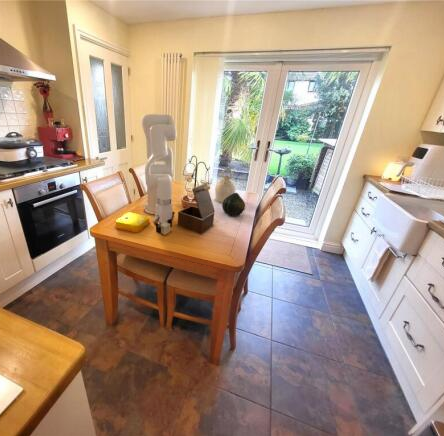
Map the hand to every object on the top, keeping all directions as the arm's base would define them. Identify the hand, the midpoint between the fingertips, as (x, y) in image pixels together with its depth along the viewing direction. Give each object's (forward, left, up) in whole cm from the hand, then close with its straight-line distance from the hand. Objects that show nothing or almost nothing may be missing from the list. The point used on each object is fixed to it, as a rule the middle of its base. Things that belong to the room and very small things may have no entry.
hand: (164, 229), depth 131 cm
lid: (+18, +14, +15) cm, 27 cm away
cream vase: (+22, +66, -2) cm, 70 cm away
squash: (+32, +43, -2) cm, 54 cm away
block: (0, 0, -2) cm, 2 cm away
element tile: (-20, 0, -2) cm, 20 cm away
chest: (+14, +15, -2) cm, 21 cm away
